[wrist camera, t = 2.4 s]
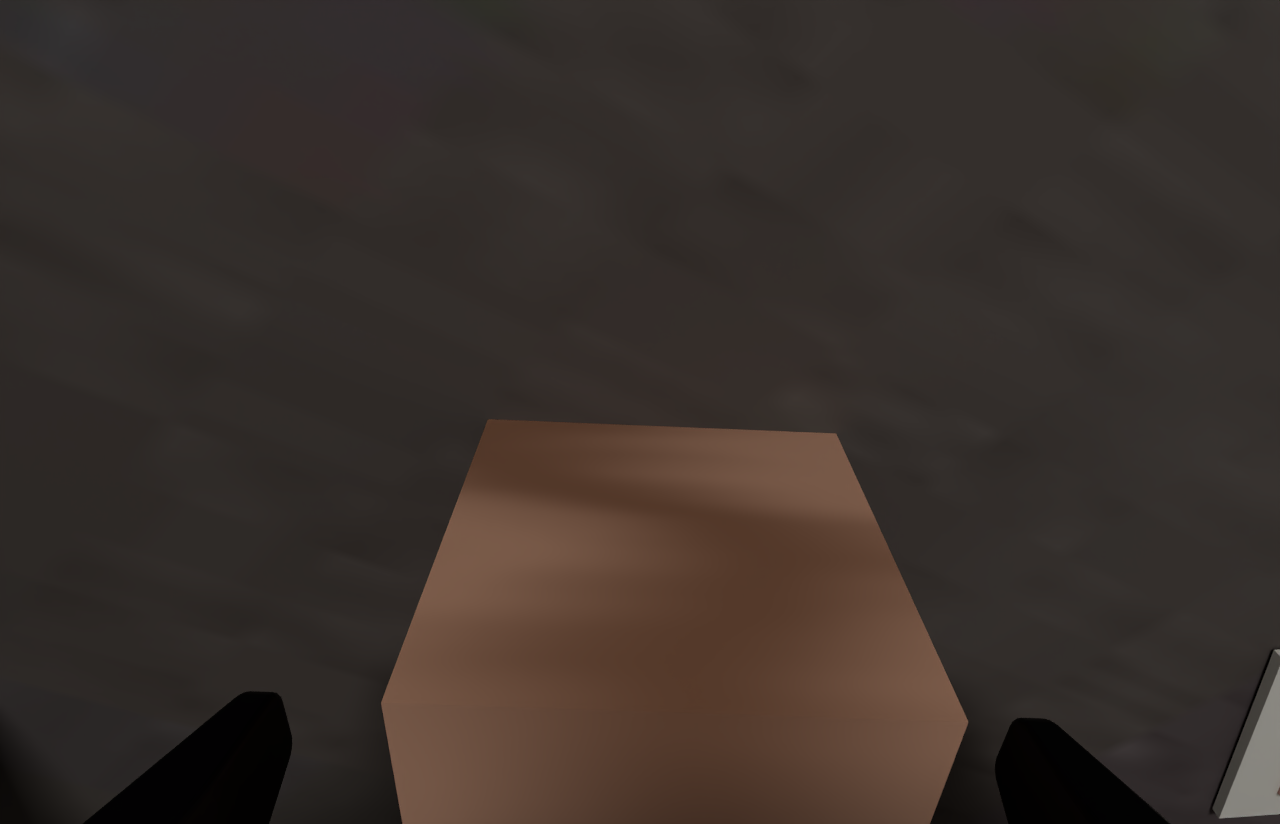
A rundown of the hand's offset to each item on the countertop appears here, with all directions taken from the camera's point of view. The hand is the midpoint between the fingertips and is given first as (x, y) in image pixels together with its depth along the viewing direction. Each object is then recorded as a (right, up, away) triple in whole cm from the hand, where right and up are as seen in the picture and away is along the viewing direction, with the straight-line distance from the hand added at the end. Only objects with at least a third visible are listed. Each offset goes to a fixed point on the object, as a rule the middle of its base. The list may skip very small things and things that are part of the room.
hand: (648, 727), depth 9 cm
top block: (0, +2, +3) cm, 3 cm away
